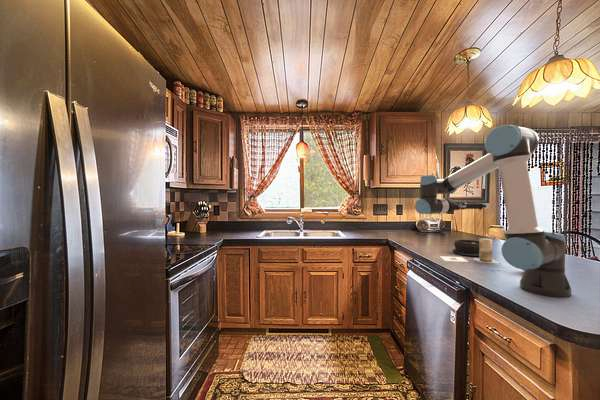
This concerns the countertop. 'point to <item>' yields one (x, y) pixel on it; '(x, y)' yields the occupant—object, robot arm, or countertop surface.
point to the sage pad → (486, 262)
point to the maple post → (485, 250)
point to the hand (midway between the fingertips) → (477, 205)
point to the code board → (453, 259)
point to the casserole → (467, 247)
